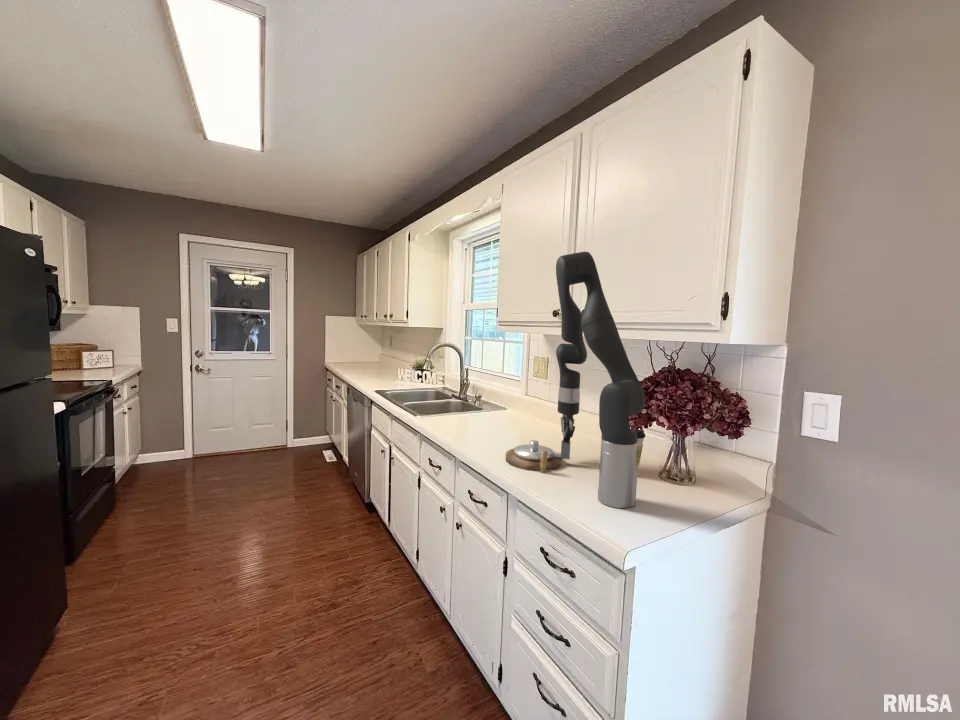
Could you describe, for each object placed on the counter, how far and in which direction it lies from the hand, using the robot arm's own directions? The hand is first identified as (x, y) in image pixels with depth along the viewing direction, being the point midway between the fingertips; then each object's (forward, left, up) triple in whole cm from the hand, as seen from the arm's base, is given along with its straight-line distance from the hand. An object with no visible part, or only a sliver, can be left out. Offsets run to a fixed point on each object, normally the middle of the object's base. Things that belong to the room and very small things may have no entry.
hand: (566, 446), depth 142 cm
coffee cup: (-19, +8, -5) cm, 22 cm away
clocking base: (+12, +2, -5) cm, 13 cm away
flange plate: (+9, +3, -3) cm, 10 cm away
